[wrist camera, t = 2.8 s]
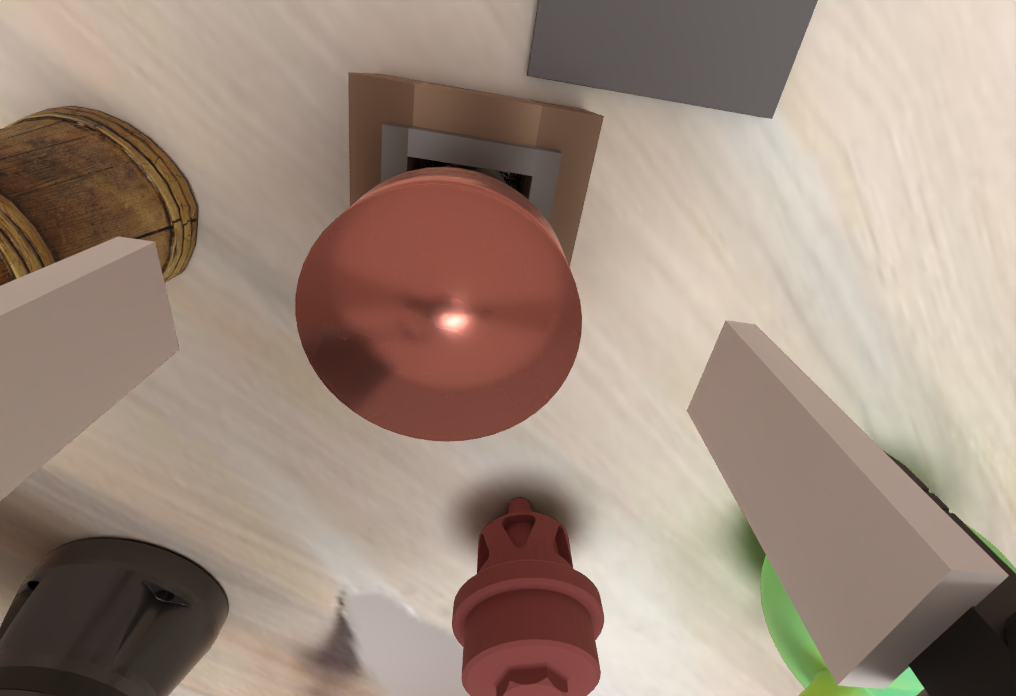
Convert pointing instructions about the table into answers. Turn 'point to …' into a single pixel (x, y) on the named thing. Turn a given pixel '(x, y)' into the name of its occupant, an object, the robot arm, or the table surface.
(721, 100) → the rubber mat
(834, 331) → the table surface
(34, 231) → the wooden mug
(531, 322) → the peg
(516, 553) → the mechanical component
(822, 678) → the toy bird
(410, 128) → the eye block
